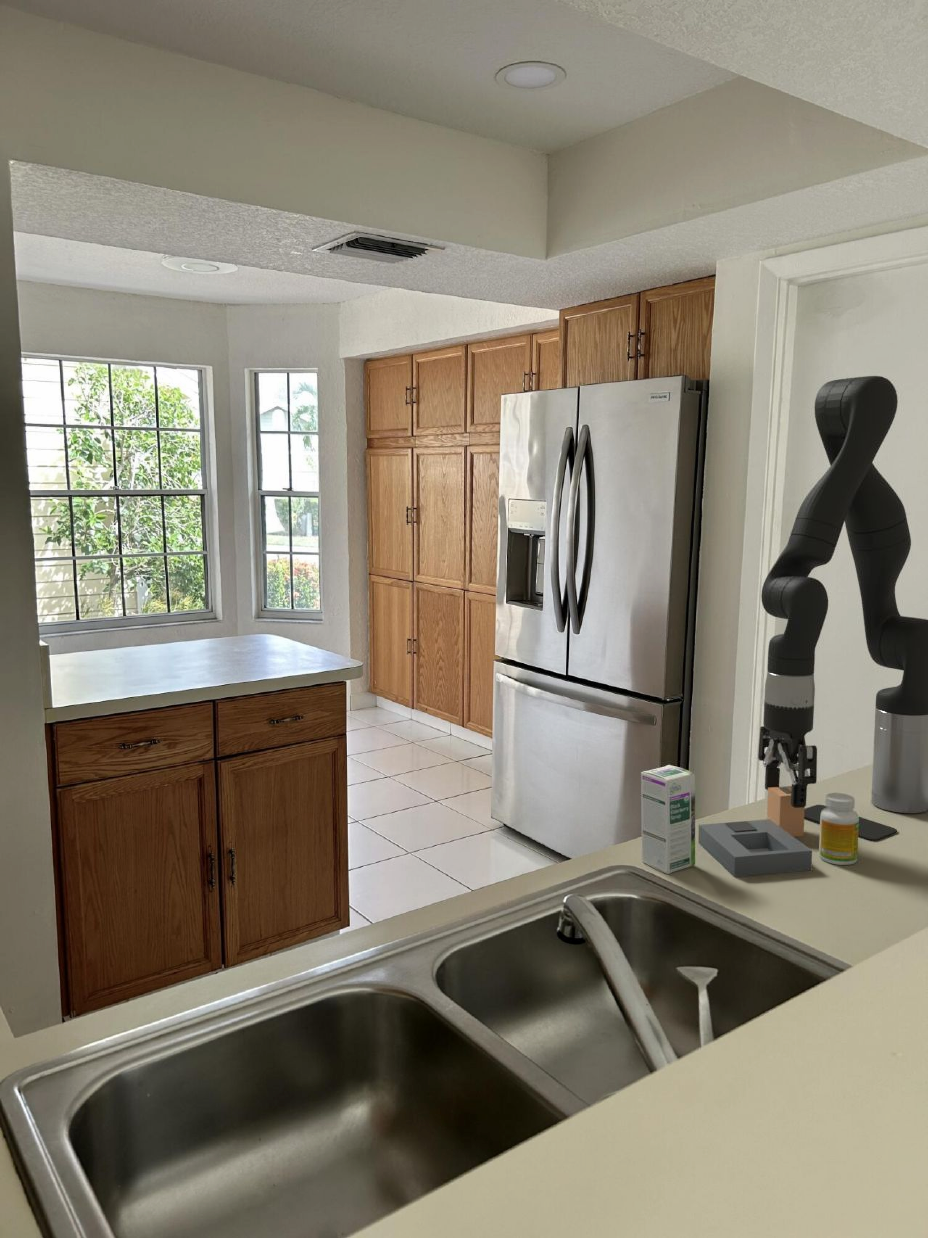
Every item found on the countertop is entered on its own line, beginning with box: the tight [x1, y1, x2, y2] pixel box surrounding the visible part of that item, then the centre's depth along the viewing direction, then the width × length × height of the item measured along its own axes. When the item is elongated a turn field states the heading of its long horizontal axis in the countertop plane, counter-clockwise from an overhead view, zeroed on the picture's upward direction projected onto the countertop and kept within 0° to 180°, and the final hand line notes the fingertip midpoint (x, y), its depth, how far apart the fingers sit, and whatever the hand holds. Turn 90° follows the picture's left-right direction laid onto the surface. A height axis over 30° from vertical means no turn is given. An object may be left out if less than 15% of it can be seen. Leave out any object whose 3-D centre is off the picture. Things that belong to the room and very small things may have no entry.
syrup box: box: [640, 764, 696, 875], centre depth 136 cm, size 6×6×14 cm
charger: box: [766, 785, 806, 838], centre depth 148 cm, size 4×4×7 cm
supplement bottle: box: [818, 792, 860, 866], centre depth 137 cm, size 5×5×10 cm
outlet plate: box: [697, 818, 813, 878], centre depth 139 cm, size 12×13×3 cm
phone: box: [804, 804, 898, 842], centre depth 152 cm, size 7×1×15 cm
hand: (784, 798), depth 148 cm, fingers open, 8 cm apart
